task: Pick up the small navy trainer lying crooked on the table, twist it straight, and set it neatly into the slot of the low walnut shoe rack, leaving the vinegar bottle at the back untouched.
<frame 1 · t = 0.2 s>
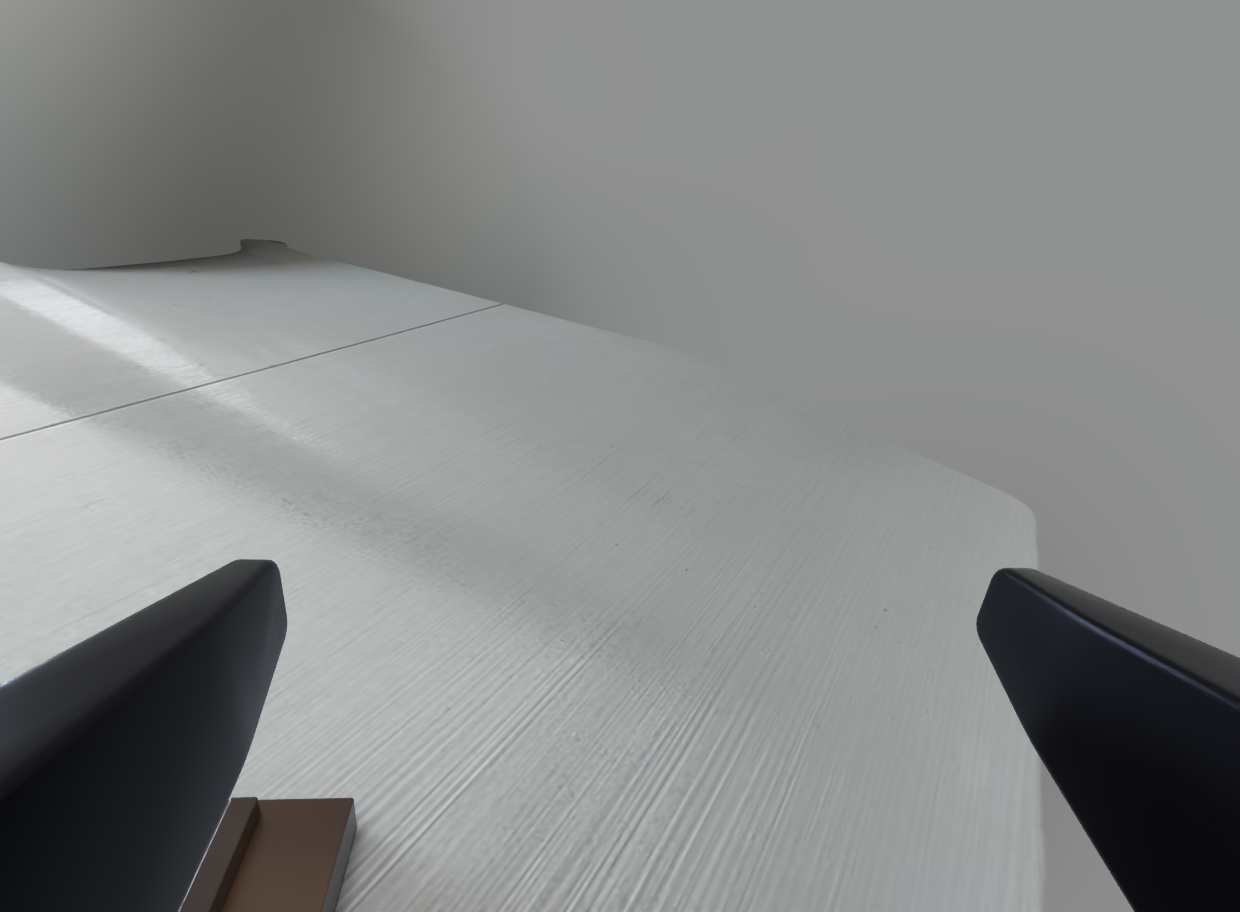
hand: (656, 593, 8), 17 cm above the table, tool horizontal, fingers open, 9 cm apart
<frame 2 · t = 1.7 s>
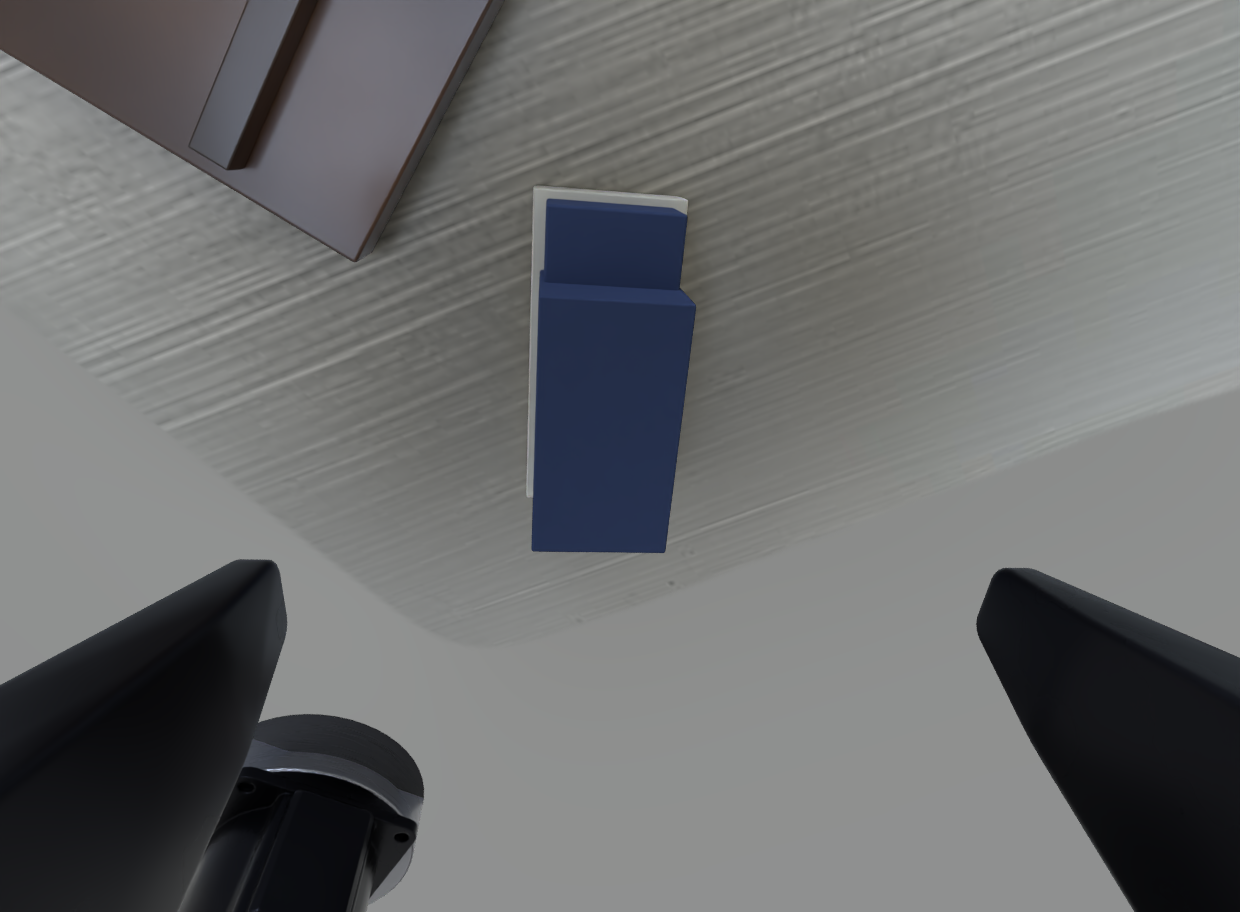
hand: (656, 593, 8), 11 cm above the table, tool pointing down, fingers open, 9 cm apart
shoe: (597, 350, 18), on the table
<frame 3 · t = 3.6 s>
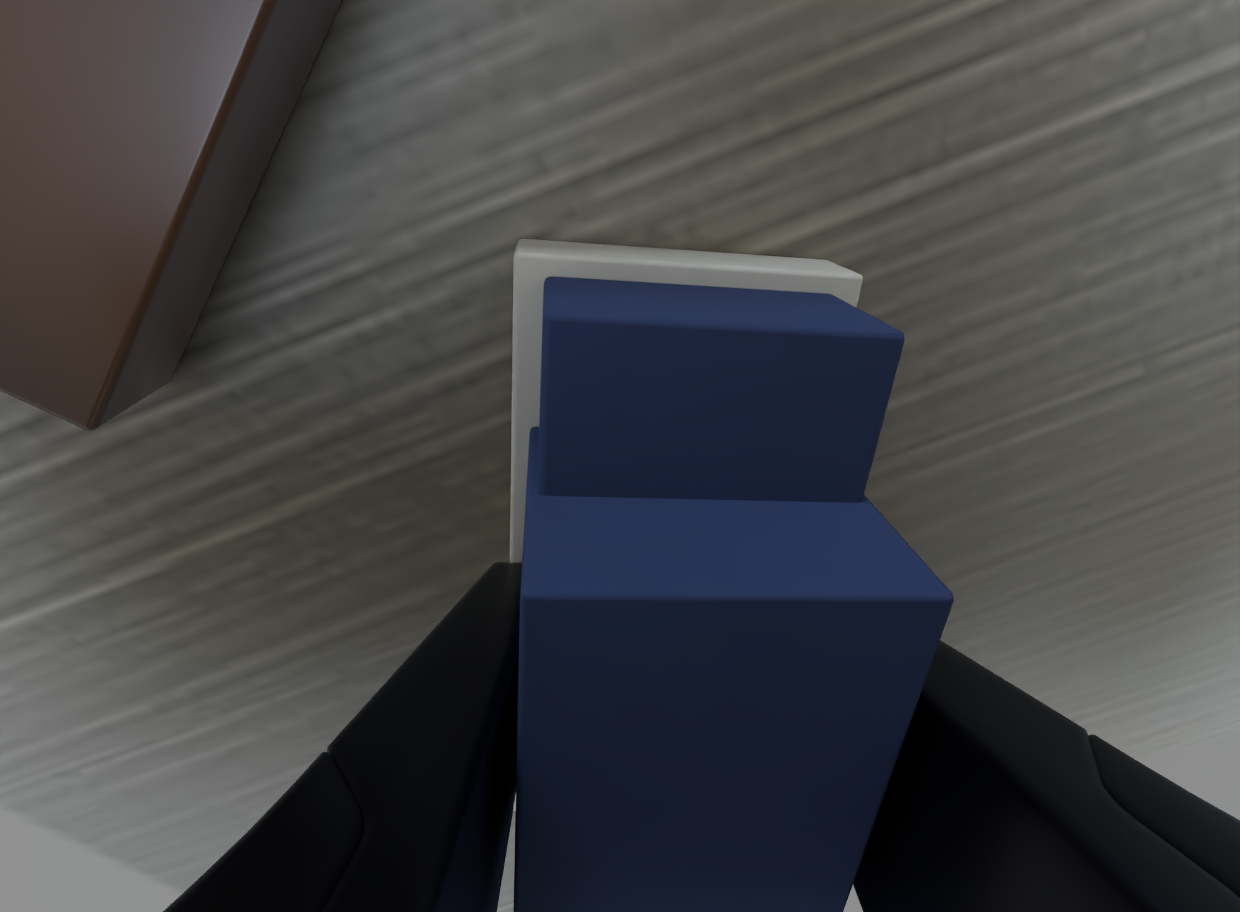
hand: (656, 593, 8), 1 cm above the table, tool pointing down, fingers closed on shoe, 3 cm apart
shoe: (644, 547, 9), on the table, touching gripper
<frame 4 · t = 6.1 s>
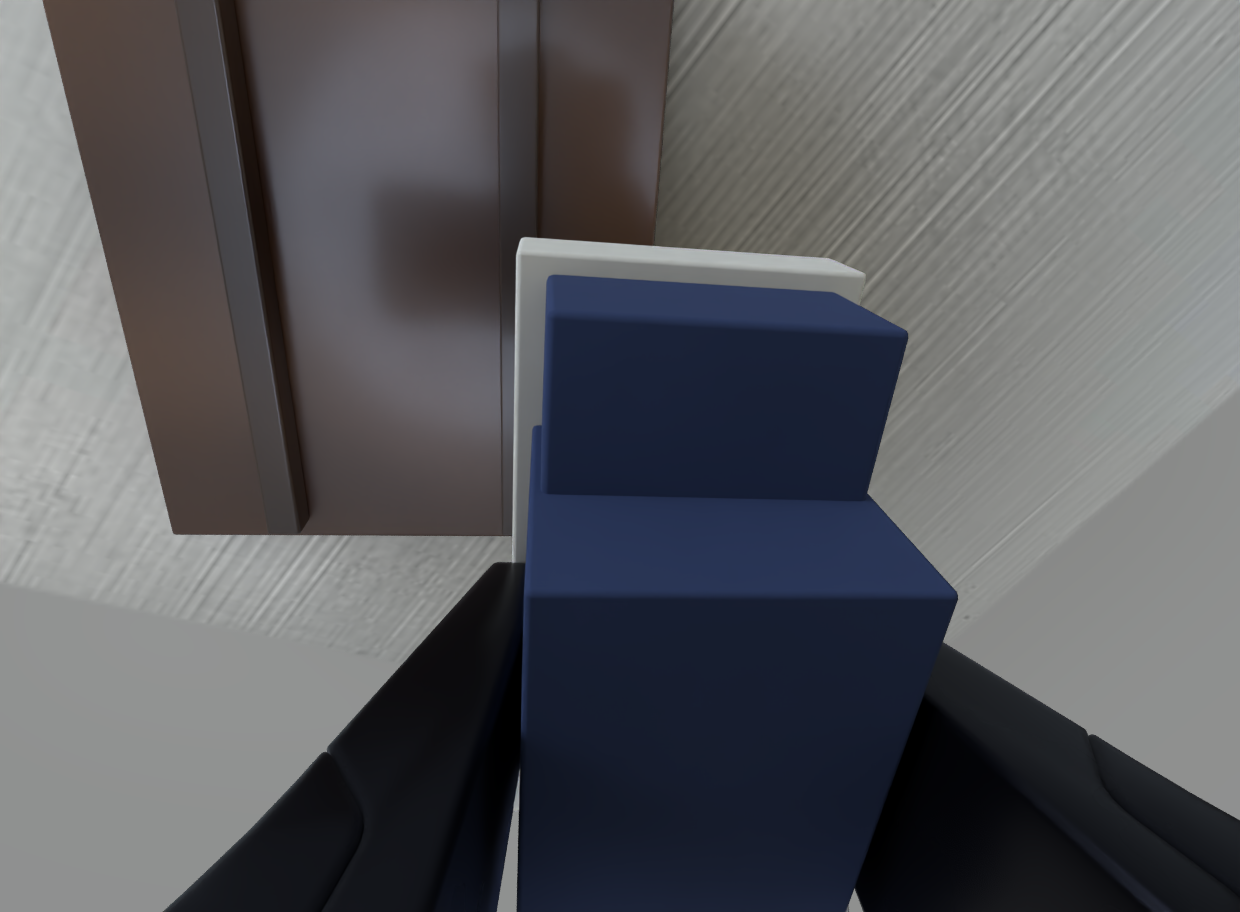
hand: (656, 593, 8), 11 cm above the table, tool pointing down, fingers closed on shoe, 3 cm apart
shoe: (646, 546, 9), point 10 cm above the table, touching gripper
rack: (402, 261, 17), on the table
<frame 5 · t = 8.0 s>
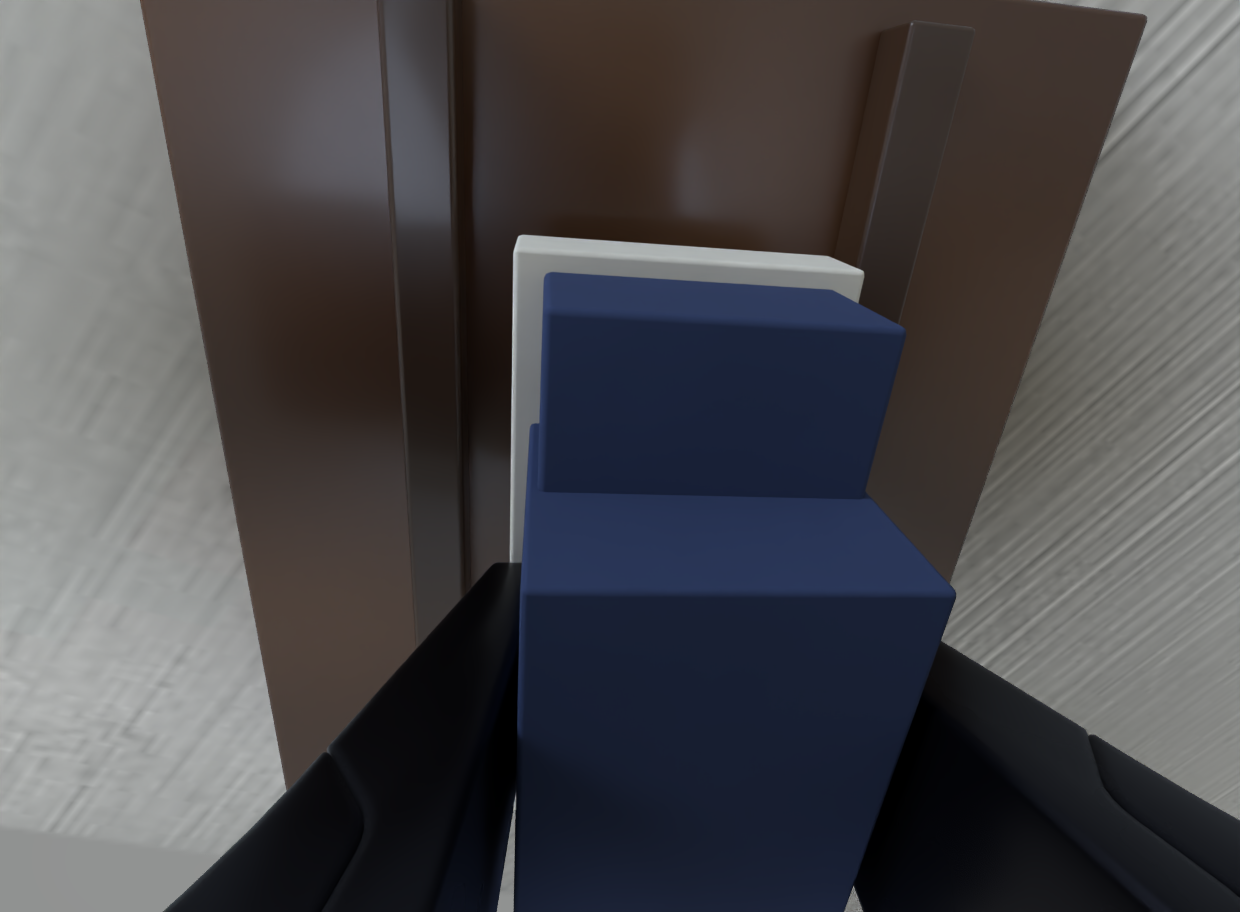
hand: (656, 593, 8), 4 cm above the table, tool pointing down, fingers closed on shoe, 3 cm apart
shoe: (644, 545, 9), point 3 cm above the table, touching gripper
rack: (621, 452, 12), on the table
when the fingers open (3 cm above the table, at t = 8.9 s): shoe stays where it is, resting on rack.
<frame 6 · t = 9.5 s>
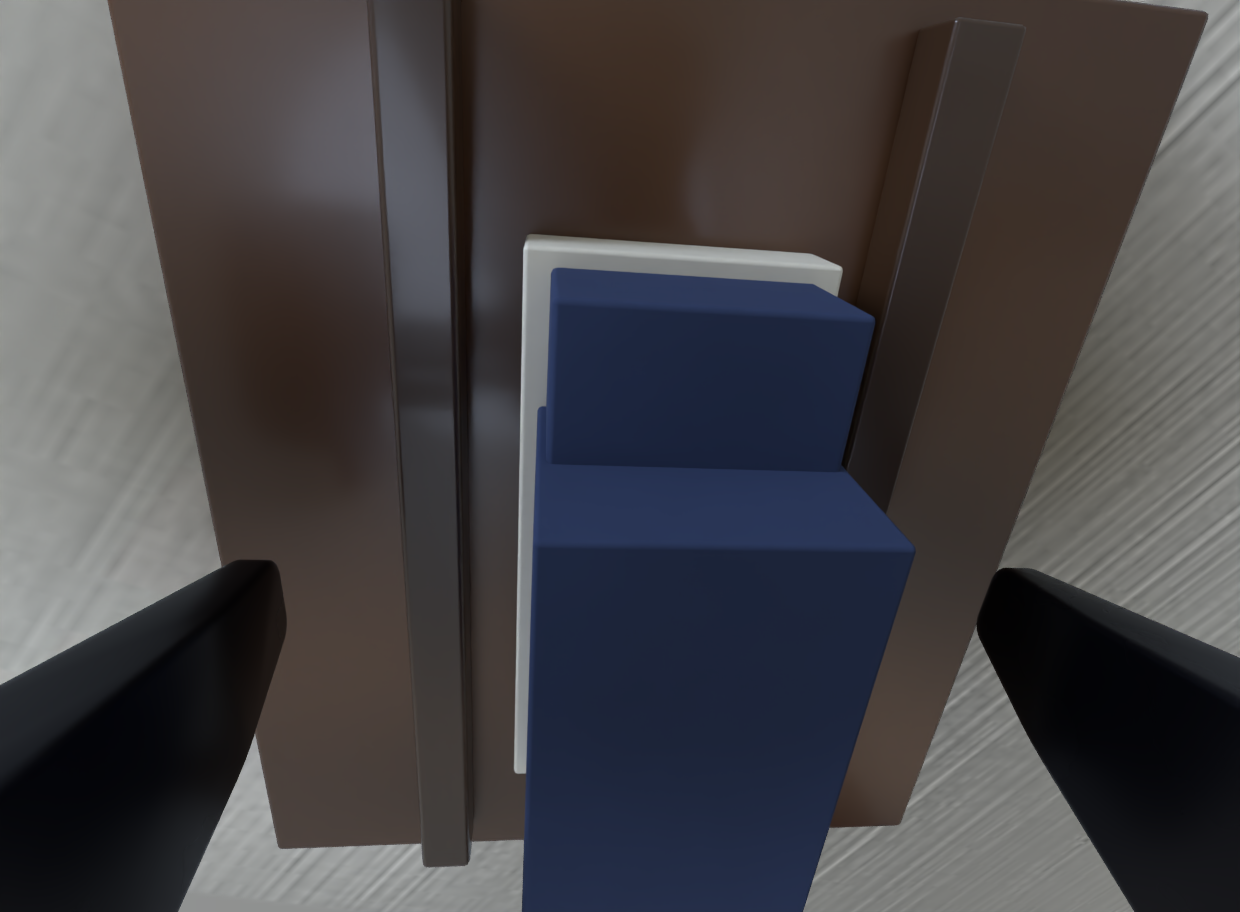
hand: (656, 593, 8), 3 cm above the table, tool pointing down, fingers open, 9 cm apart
shoe: (643, 523, 10), point 1 cm above the table, touching rack
rack: (630, 477, 11), on the table
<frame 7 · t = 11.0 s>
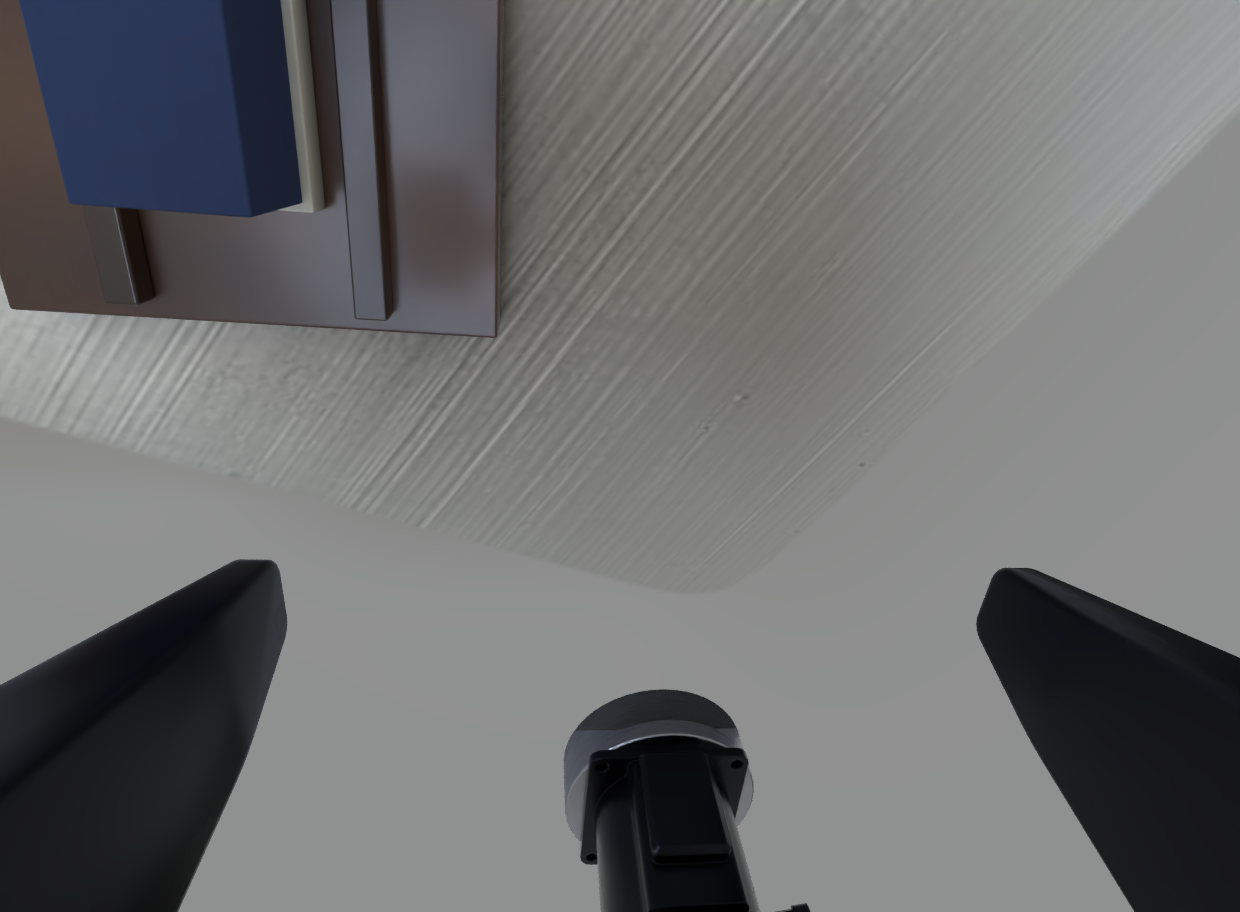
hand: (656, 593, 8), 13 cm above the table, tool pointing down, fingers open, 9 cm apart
shoe: (220, 6, 14), point 1 cm above the table, touching rack
rack: (247, 17, 16), on the table
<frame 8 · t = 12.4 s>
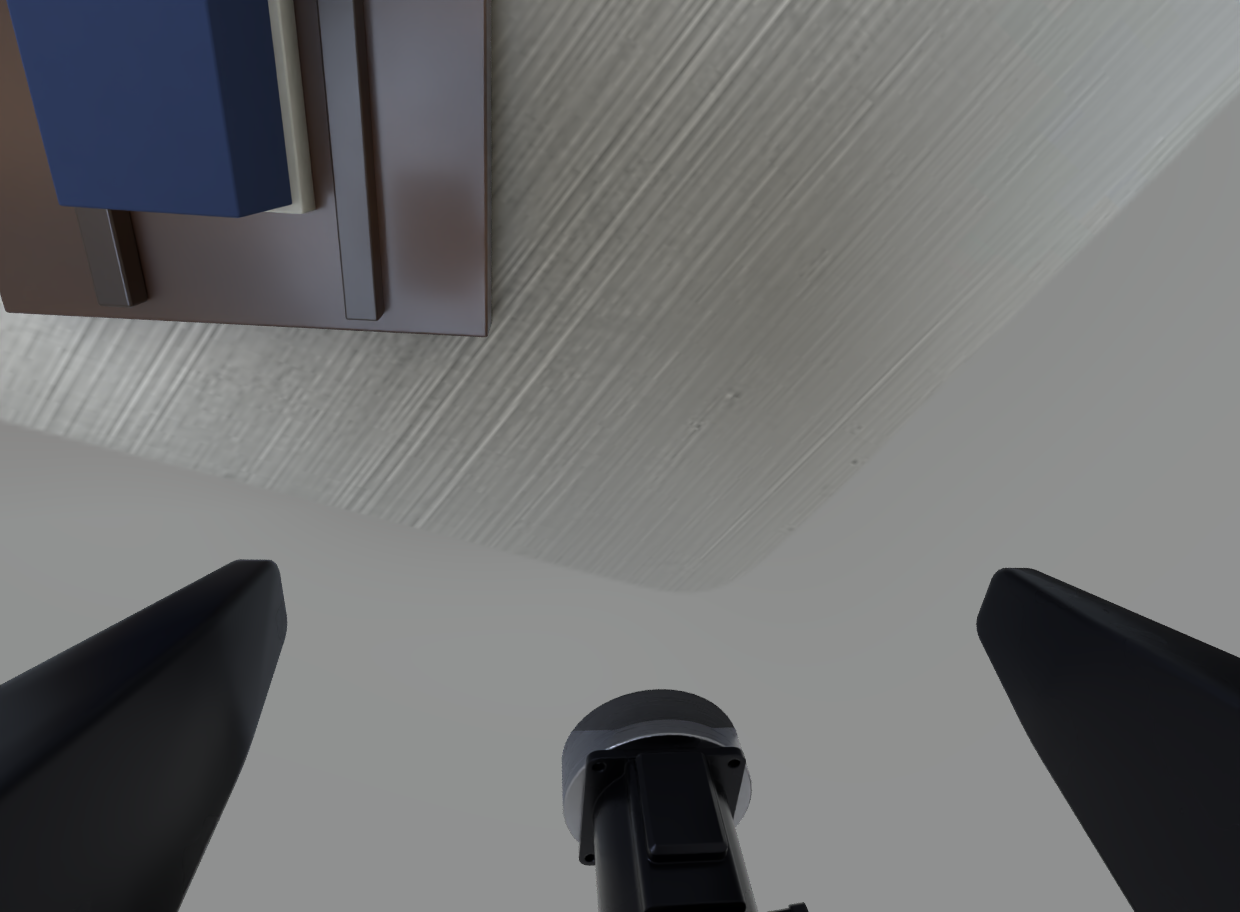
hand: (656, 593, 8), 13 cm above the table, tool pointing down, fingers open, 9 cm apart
shoe: (210, 11, 15), point 1 cm above the table, touching rack
rack: (237, 22, 16), on the table
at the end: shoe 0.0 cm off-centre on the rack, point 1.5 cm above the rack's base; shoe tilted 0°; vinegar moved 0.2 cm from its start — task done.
